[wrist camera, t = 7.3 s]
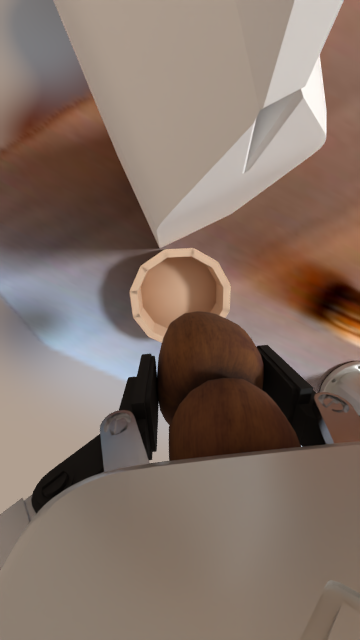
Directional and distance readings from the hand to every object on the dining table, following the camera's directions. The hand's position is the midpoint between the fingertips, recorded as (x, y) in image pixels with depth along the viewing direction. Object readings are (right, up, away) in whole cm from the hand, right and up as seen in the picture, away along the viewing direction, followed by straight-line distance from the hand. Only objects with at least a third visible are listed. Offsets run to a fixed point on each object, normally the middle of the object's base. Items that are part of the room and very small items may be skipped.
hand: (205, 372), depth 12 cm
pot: (-2, +7, +20) cm, 21 cm away
